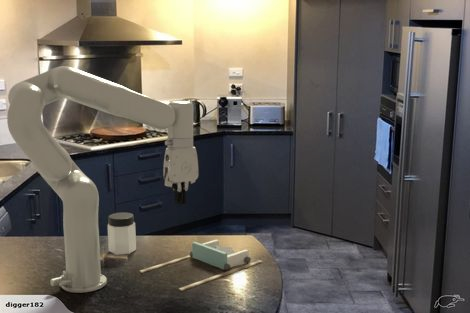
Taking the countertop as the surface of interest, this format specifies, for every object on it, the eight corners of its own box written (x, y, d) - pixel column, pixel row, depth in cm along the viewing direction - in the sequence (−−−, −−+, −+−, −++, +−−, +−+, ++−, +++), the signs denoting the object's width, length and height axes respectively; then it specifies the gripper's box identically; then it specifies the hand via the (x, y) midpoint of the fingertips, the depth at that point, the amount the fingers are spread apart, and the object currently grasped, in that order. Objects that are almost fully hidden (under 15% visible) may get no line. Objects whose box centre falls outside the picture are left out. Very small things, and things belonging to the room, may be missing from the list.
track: (181, 290, 173) (181, 289, 173) (139, 271, 188) (139, 270, 187) (262, 262, 195) (262, 261, 195) (218, 247, 209) (218, 245, 209)
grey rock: (234, 276, 193) (240, 261, 191) (215, 272, 191) (221, 257, 189) (229, 256, 202) (235, 242, 200) (211, 253, 200) (216, 238, 198)
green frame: (225, 271, 186) (225, 254, 185) (189, 257, 198) (189, 242, 197) (250, 262, 194) (250, 246, 193) (214, 249, 206) (214, 234, 205)
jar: (140, 251, 206) (139, 216, 203) (118, 256, 201) (116, 221, 198) (126, 244, 212) (125, 210, 210) (105, 249, 207) (103, 215, 205)
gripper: (167, 147, 176) (167, 210, 179) (208, 142, 186) (207, 202, 189) (152, 143, 182) (152, 205, 185) (192, 139, 191) (192, 197, 195)
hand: (180, 203), depth 187 cm, fingers closed
